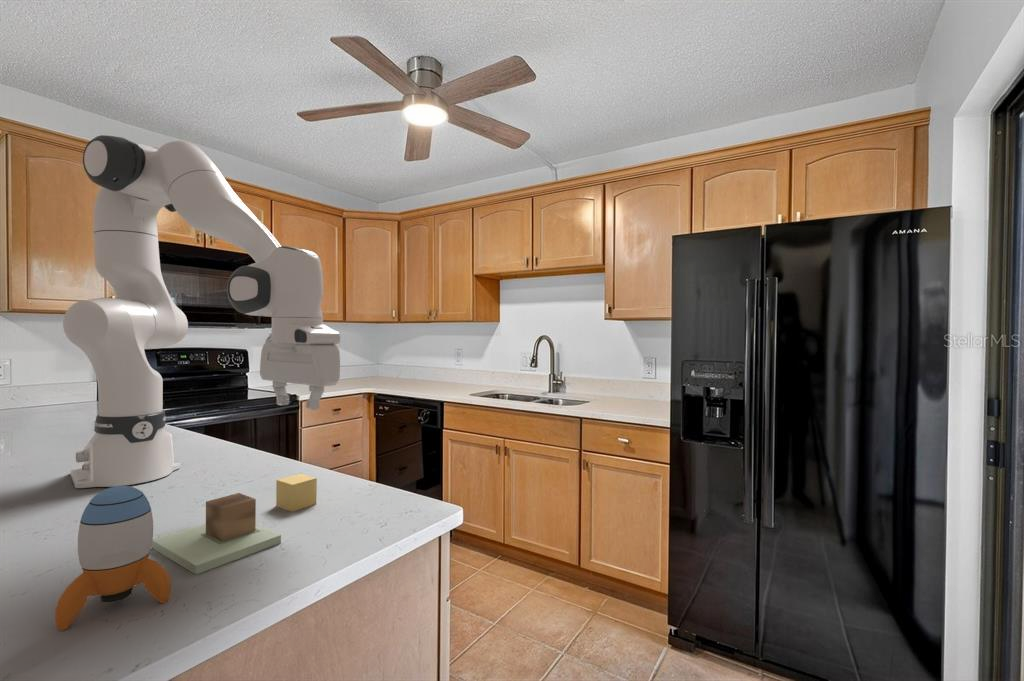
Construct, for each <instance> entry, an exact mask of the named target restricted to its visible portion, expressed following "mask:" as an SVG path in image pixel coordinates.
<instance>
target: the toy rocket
mask: <svg viewBox="0 0 1024 681" xmlns="http://www.w3.org/2000/svg"><path fill="white" fill-rule="evenodd" d="M153 539H154V518H153V512H152V508H151V504H150V502H149V499H148V498H147V496H146V494H145V493H144V492H143V491H142V490H140V489H138V488H136V487H133V486H131V485H124V486H112V487H107V488H106V489H103V490H101V491H99V492H98V493H97V494H95V495H94V496H93V497H92V498H91V499H90V500H89V502H88V504H87V505H86V506H85V508H84V510H83V512H82V514H81V517H80V522H79V526H78V534H77V553H78V554H77V555H78V560H79V565H80V567H81V570H82V573H81V574H80V575H78V576H77V577H76V578H75V579H73V580H72V581H71V582H70V584H69V585H68V586H67V587H66V588H65V590H64V591H63V593H62V594H61V595H60V597H59V599H58V602H57V604H56V607H55V611H54V612H55V613H54V619H55V620H54V621H55V626H56V628H57V629H58V631H60V632H62V631H65V630H67V629H68V628H69V627H70V626H71V625H72V624H73V622H74V620H75V619H76V617H78V615H79V614H80V612H81V611H82V610H83V609H84V608H85V606H86V603H88V602H87V601H88V598H89V597H91V596H100V601H101V602H102V603H107V604H108V603H116V602H119V601H122V600H124V599H126V598H128V597H130V596H131V595H132V594H133V587H135V586H138V585H140V584H143V587H144V588H145V590H146V591H147V592H148V593H149V594H150V595H151V596H152V597H154V599H156V600H157V601H158V602H159V603H160V604H164V603H167V602H168V600H169V599H170V597H171V589H172V582H171V578H170V575H169V572H167V570H166V569H165V568H164V566H162V565H161V564H160V562H157V561H155V560H153V559H152V558H149V556H150V553H151V550H152V548H151V546H152V540H153Z"/></svg>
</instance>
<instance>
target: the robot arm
mask: <svg viewBox="0 0 1024 681" xmlns="http://www.w3.org/2000/svg"><path fill="white" fill-rule="evenodd" d="M82 165H83V166H82V167H83V169H84V172H85V174H86V175H87V177H88V179H89V180H90V181H91V182H93V183H94V184H96V185H98V186H99V187H101V188H100V189H99V190H98V191H97V194H96V197H95V200H94V201H95V203H94V209H93V221H92V223H93V224H92V226H93V227H92V228H93V229H92V231H93V244H94V245H93V247H94V251H93V252H94V265H95V266H94V267H95V270H96V271H97V273H98V274H99V275H100V276H101V277H102V278H103V279H105V280H106V281H107V282H108V283H109V285H110V286H111V287H112V289H113V290H114V293H115V295H116V297H115V298H114V297H98V298H90V299H84V300H83V299H82V300H79V301H76V302H75V303H73V304H72V305H71V306H69V308H68V309H67V310H66V311H65V314H64V316H63V319H62V320H63V321H62V327H63V331H64V334H65V336H66V338H67V340H69V342H71V343H72V344H73V345H75V346H76V347H78V348H79V349H80V350H81V351H83V353H84V354H85V355H86V356H87V358H88V360H89V361H90V363H91V365H92V368H93V370H94V373H95V376H96V380H97V393H98V394H97V395H98V397H97V398H98V399H97V400H98V401H97V402H98V414H97V415H96V417H95V421H94V424H93V425H94V429H93V431H94V432H95V433H94V435H93V436H92V437H91V438H90V440H89V442H88V443H87V444H86V445H85V446H84V449H83V450H79V451H76V452H75V462H76V464H77V463H83V464H82V465H81V466H78V467H74V468H71V469H70V474H69V475H70V478H71V480H72V483H73V485H74V488H75V489H86V488H87V489H88V488H97V487H98V488H100V487H101V488H104V487H105V488H106V487H107V488H111V487H115V486H131V485H136V484H142V483H143V484H144V483H147V482H151V481H155V480H158V479H162V478H164V477H166V476H169V475H170V474H171V473H172V472H173V471H176V470H178V469H180V468H181V463H180V462H175V460H174V458H175V457H174V448H173V447H174V446H173V435H172V434H171V433H170V432H168V431H167V430H165V428H164V427H165V426H166V420H167V419H166V418H167V416H166V412H165V410H163V406H164V402H163V401H164V400H163V397H164V396H163V394H164V392H163V390H164V389H163V388H164V387H163V386H164V385H163V384H164V383H163V382H164V379H163V377H162V375H161V374H160V372H159V371H157V370H155V369H154V368H152V366H151V365H150V363H149V361H148V358H147V355H146V351H145V350H152V349H153V350H154V349H155V350H156V349H157V350H158V349H162V348H166V347H169V346H173V345H174V344H177V343H179V342H181V341H182V340H183V339H184V338H185V337H186V335H187V333H188V328H189V321H188V319H187V315H186V314H185V313H184V312H183V311H182V309H181V308H179V307H178V306H177V305H176V304H175V302H174V300H173V298H172V297H171V295H170V293H169V291H168V288H167V286H166V284H165V281H164V278H163V274H162V271H161V270H162V269H161V260H160V248H159V247H160V246H159V245H160V244H159V235H158V233H159V232H158V225H157V224H158V222H157V218H158V215H159V214H158V213H159V212H160V210H161V209H163V208H165V209H166V210H167V211H168V212H170V213H174V212H176V213H177V214H178V215H179V216H180V218H181V219H183V221H185V222H186V223H187V225H189V226H190V227H192V228H193V229H194V230H196V231H198V232H201V233H203V234H206V235H208V236H211V237H213V238H216V239H219V240H221V241H224V242H226V243H229V244H231V245H233V246H234V247H237V248H239V249H241V250H242V251H244V252H245V253H247V254H248V255H249V256H250V257H251V258H252V260H254V262H255V263H251V264H248V265H241V266H240V267H238V268H236V269H235V270H234V271H233V272H232V273H231V275H230V276H229V279H228V281H227V287H226V293H227V298H228V301H229V303H230V305H231V306H232V308H233V309H234V310H235V311H236V312H238V313H241V314H243V315H248V316H256V317H268V318H269V317H270V318H271V333H269V335H268V337H267V338H266V339H265V342H264V344H263V345H262V348H261V354H260V361H259V362H260V364H259V376H260V377H261V380H263V381H269V382H272V389H273V391H274V394H275V396H276V405H278V406H288V405H289V404H290V395H288V393H287V389H286V387H287V386H288V384H294V385H295V384H297V385H306V386H309V387H308V388H309V389H308V391H309V392H310V395H309V397H308V399H306V400H305V404H306V406H305V408H306V410H309V411H316V410H317V411H318V410H320V402H321V401H320V400H321V399H322V396H323V394H324V392H325V387H330V386H336V385H337V384H338V382H339V380H340V375H341V355H340V349H339V347H338V346H337V344H340V342H341V333H340V332H339V331H337V330H335V329H333V328H332V327H330V326H328V325H326V324H324V315H323V312H322V307H321V306H322V300H323V298H324V278H323V277H324V275H323V267H322V262H321V259H320V257H319V256H318V254H317V253H315V252H314V251H312V250H308V249H304V248H298V247H293V246H287V245H281V243H279V241H278V240H277V239H276V237H275V236H274V235H273V234H272V233H271V232H270V229H268V228H267V227H266V225H265V224H264V223H263V222H262V221H261V220H260V219H259V218H258V217H257V216H256V215H255V214H254V213H253V212H252V211H251V210H250V208H248V206H246V204H245V203H244V201H242V200H241V198H240V197H239V195H238V194H236V192H235V191H234V190H233V188H232V187H231V185H230V183H229V182H228V181H227V180H226V178H225V177H224V175H223V173H222V172H221V171H220V169H219V168H218V167H217V165H216V163H214V162H213V161H212V159H210V157H209V156H208V155H207V154H206V153H205V152H204V151H203V150H202V149H201V148H200V147H199V146H197V145H195V144H193V143H191V142H188V141H184V140H176V141H175V140H174V141H173V140H172V141H169V142H167V143H164V144H163V145H161V146H160V147H159V148H158V147H155V146H150V145H146V144H144V143H139V142H135V141H131V140H129V139H127V138H125V137H120V136H114V135H103V134H101V135H98V136H95V137H93V138H92V139H91V140H90V141H89V142H88V143H87V144H86V145H85V148H84V150H83V154H82Z"/></svg>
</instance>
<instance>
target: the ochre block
mask: <svg viewBox="0 0 1024 681" xmlns="http://www.w3.org/2000/svg"><path fill="white" fill-rule="evenodd" d="M317 481H318V479H317V477H314V476H310V475H308V474H303V473H298V474H293V475H290V476H286V477H282V478H279V479H276V481H275V482H276V483H275V484H276V485H275V486H276V487H275V488H276V489H275V490H276V493H275V494H276V495H275V496H276V498H275V499H276V500H275V503H276V504H275V506H276V507H278V508H281V509H282V510H286V511H289V512H290V513H291V512H292V513H293V512H296V511H299V510H301V509H304V508H308V507H311V506H313V504H314V505H317V492H318V491H317V485H318V484H317Z"/></svg>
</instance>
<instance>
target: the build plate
mask: <svg viewBox="0 0 1024 681" xmlns="http://www.w3.org/2000/svg"><path fill="white" fill-rule="evenodd" d="M281 543H282V535H281V534H280V533H278V532H275V531H272V530H271V529H270V530H269V529H268V528H265V527H263V526H260V525H259V524H255V531H253V532H250V533H247V534H244V535H241V536H238V537H235V538H232V539H229V540H226V541H223V542H221V541H219V540H217V539H215V538H213V537H211V536H209V535H207V534H206V523H203V524H199V525H197V526H194V527H189V528H186V529H183V530H180V531H176V532H174V533H170V534H167V535H163V536H159V537H156V538H153V540H152V546H151V549H152V550H154V551H156V552H158V553H159V554H161V555H162V556H164V557H166V558H168V559H169V560H171V561H173V562H174V563H175V564H178V565H179V566H181V567H183V568H184V569H186V570H188V571H189V572H191V573H192V574H194V575H199V574H202V573H204V572H207V571H210V570H212V569H215V568H218V567H221V566H223V565H225V564H229V563H230V562H233V561H237V560H239V559H241V558H244V557H247V556H250V555H252V554H254V553H258V552H260V551H263V550H265V549H268V548H270V547H273V546H277V545H278V544H281Z"/></svg>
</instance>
